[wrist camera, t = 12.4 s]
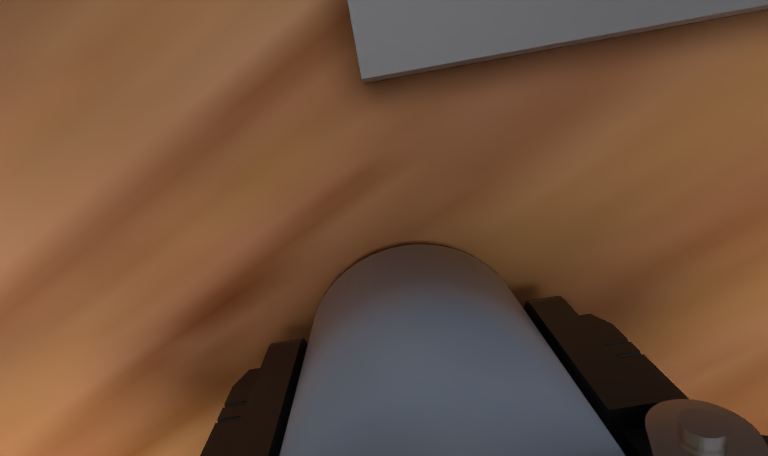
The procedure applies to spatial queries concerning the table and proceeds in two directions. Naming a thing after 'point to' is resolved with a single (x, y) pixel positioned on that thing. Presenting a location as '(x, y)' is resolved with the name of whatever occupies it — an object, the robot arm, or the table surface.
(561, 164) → the table surface
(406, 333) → the slate-blue cylinder
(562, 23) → the charcoal base
